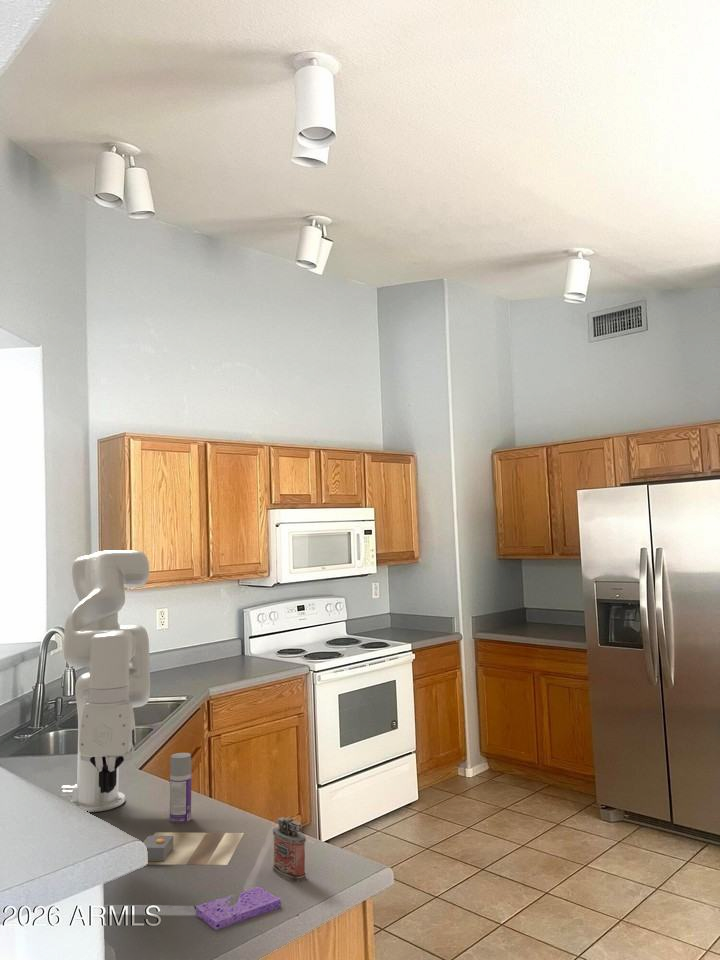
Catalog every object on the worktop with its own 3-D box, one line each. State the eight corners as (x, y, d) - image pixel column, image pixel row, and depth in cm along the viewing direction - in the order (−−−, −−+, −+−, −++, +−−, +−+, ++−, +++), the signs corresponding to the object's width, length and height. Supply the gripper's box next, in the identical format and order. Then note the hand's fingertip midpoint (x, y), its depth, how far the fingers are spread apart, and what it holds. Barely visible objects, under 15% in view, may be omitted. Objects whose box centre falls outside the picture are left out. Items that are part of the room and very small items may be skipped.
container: (182, 819, 170) (182, 751, 172) (195, 823, 167) (195, 754, 169) (165, 825, 167) (165, 755, 168) (178, 830, 164) (178, 759, 165)
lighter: (268, 870, 143) (268, 816, 144) (282, 865, 145) (282, 811, 146) (295, 884, 137) (295, 827, 138) (310, 878, 139) (309, 822, 140)
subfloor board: (128, 870, 143) (128, 864, 144) (155, 838, 159) (155, 832, 159) (227, 871, 142) (227, 864, 143) (244, 838, 158) (244, 832, 159)
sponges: (195, 917, 126) (195, 905, 126) (260, 895, 134) (260, 884, 134) (215, 933, 121) (215, 921, 121) (281, 909, 128) (281, 898, 129)
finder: (138, 861, 144) (138, 845, 145) (148, 848, 150) (148, 834, 151) (163, 861, 144) (164, 846, 144) (173, 848, 150) (173, 834, 150)
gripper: (64, 699, 147) (61, 797, 145) (139, 698, 146) (138, 796, 144) (80, 692, 154) (78, 785, 152) (151, 692, 154) (150, 785, 152)
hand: (107, 790), depth 148 cm, fingers closed
